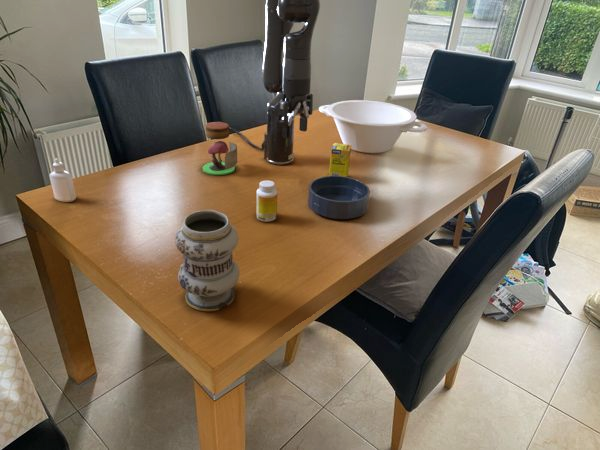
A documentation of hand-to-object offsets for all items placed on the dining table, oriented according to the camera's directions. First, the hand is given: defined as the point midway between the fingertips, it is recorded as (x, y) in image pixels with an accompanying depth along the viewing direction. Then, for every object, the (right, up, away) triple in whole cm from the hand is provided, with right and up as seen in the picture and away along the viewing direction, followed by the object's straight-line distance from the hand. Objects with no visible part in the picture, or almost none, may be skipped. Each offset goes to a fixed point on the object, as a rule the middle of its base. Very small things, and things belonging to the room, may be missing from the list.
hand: (295, 134), depth 128 cm
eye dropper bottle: (-64, -19, -2) cm, 67 cm away
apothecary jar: (-17, -41, -35) cm, 56 cm away
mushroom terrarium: (-25, -8, +21) cm, 34 cm away
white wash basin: (+28, +5, +49) cm, 57 cm away
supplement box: (+14, -11, +20) cm, 27 cm away
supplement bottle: (-8, -24, -5) cm, 26 cm away
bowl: (+12, -21, +2) cm, 24 cm away
